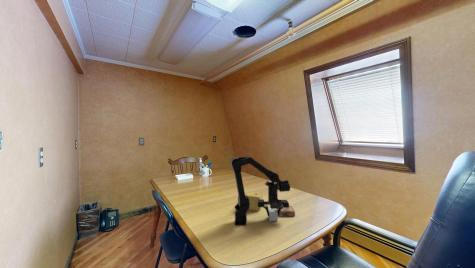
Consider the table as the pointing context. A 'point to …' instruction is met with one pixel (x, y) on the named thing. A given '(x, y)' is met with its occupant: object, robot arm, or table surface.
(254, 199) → the cheese
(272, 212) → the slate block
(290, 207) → the pedestal
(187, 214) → the table surface
